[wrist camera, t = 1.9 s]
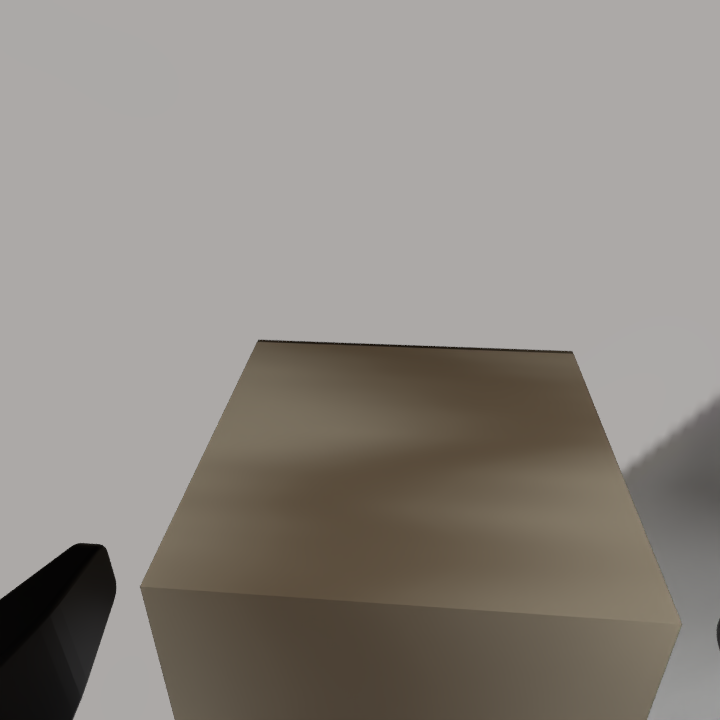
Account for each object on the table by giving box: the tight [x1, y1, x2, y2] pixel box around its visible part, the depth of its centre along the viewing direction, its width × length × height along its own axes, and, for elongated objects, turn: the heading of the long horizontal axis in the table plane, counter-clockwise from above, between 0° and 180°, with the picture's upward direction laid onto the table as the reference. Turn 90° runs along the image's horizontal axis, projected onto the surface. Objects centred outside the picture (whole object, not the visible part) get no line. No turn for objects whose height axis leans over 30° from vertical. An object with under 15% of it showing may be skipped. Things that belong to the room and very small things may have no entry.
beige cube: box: [140, 340, 682, 720], centre depth 9 cm, size 5×5×5 cm
